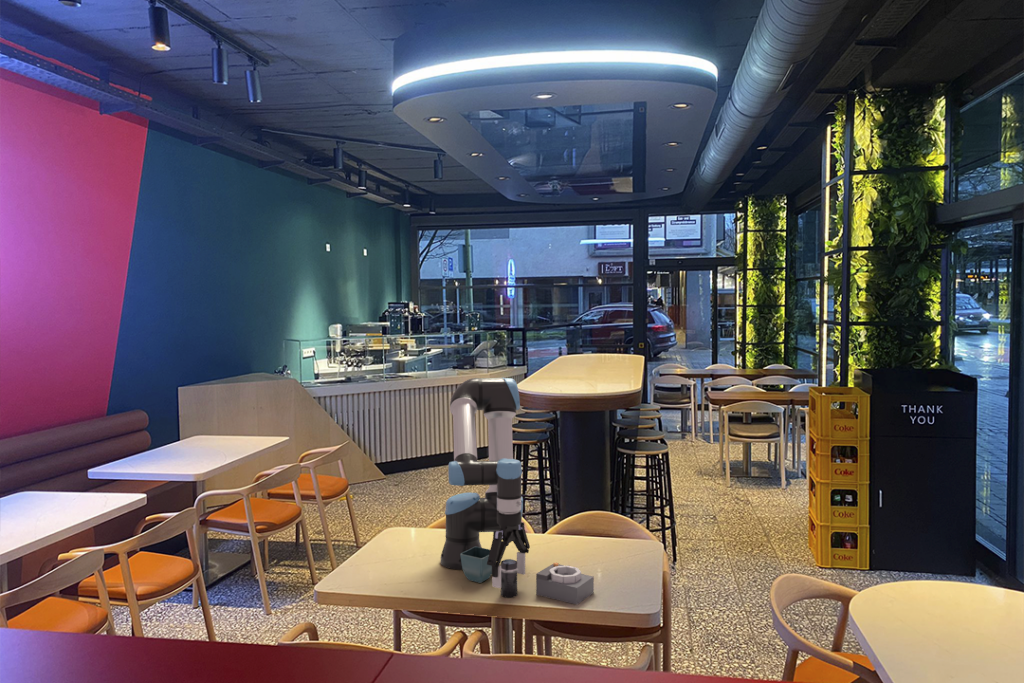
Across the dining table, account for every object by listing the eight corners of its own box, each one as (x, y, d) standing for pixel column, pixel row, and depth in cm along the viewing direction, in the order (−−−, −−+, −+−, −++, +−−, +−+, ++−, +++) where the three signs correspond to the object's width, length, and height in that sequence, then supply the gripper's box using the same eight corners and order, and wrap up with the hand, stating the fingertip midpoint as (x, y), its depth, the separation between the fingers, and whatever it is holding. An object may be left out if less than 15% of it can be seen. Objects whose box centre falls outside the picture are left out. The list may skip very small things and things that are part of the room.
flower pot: (482, 586, 224) (482, 558, 223) (459, 581, 228) (459, 553, 228) (497, 578, 231) (497, 550, 231) (475, 572, 236) (475, 546, 235)
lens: (497, 595, 217) (497, 562, 216) (506, 590, 221) (506, 557, 221) (511, 599, 214) (511, 565, 213) (520, 593, 218) (520, 560, 218)
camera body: (536, 594, 217) (536, 570, 217) (554, 583, 227) (554, 560, 226) (576, 604, 210) (577, 580, 209) (593, 592, 219) (593, 569, 219)
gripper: (496, 522, 204) (496, 595, 204) (540, 504, 225) (540, 570, 225) (475, 518, 208) (475, 590, 208) (520, 500, 229) (520, 566, 229)
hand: (509, 580), depth 217 cm, fingers open, 13 cm apart
